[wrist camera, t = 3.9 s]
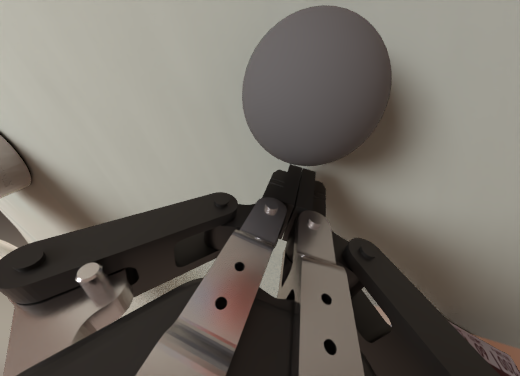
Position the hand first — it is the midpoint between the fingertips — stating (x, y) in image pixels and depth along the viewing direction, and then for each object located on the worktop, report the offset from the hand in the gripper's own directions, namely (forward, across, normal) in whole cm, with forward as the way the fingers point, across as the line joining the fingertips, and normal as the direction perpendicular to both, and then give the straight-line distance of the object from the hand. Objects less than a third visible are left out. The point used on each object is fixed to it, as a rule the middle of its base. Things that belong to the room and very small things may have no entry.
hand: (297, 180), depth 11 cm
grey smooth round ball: (-1, +1, -5) cm, 5 cm away
